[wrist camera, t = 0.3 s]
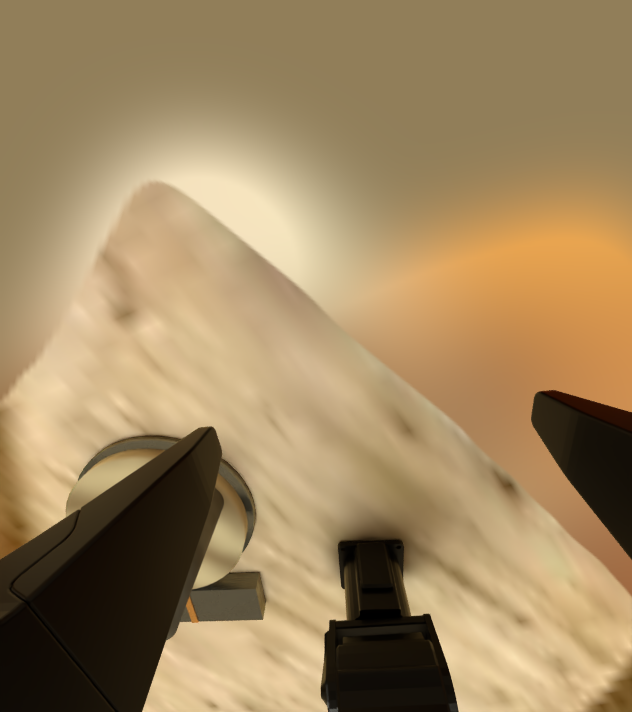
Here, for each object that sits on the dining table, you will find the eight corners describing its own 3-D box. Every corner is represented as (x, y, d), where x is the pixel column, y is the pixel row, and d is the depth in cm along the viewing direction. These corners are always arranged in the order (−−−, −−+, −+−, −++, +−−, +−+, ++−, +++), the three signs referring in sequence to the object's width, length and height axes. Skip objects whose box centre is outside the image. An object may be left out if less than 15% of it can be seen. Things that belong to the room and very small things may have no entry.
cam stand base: (274, 602, 35) (271, 620, 33) (130, 606, 36) (120, 624, 34) (239, 430, 27) (233, 443, 25) (54, 441, 28) (36, 454, 26)
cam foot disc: (201, 621, 35) (153, 772, 25) (58, 577, 33) (-57, 722, 23) (273, 488, 28) (245, 625, 18) (95, 421, 26) (-47, 534, 16)
